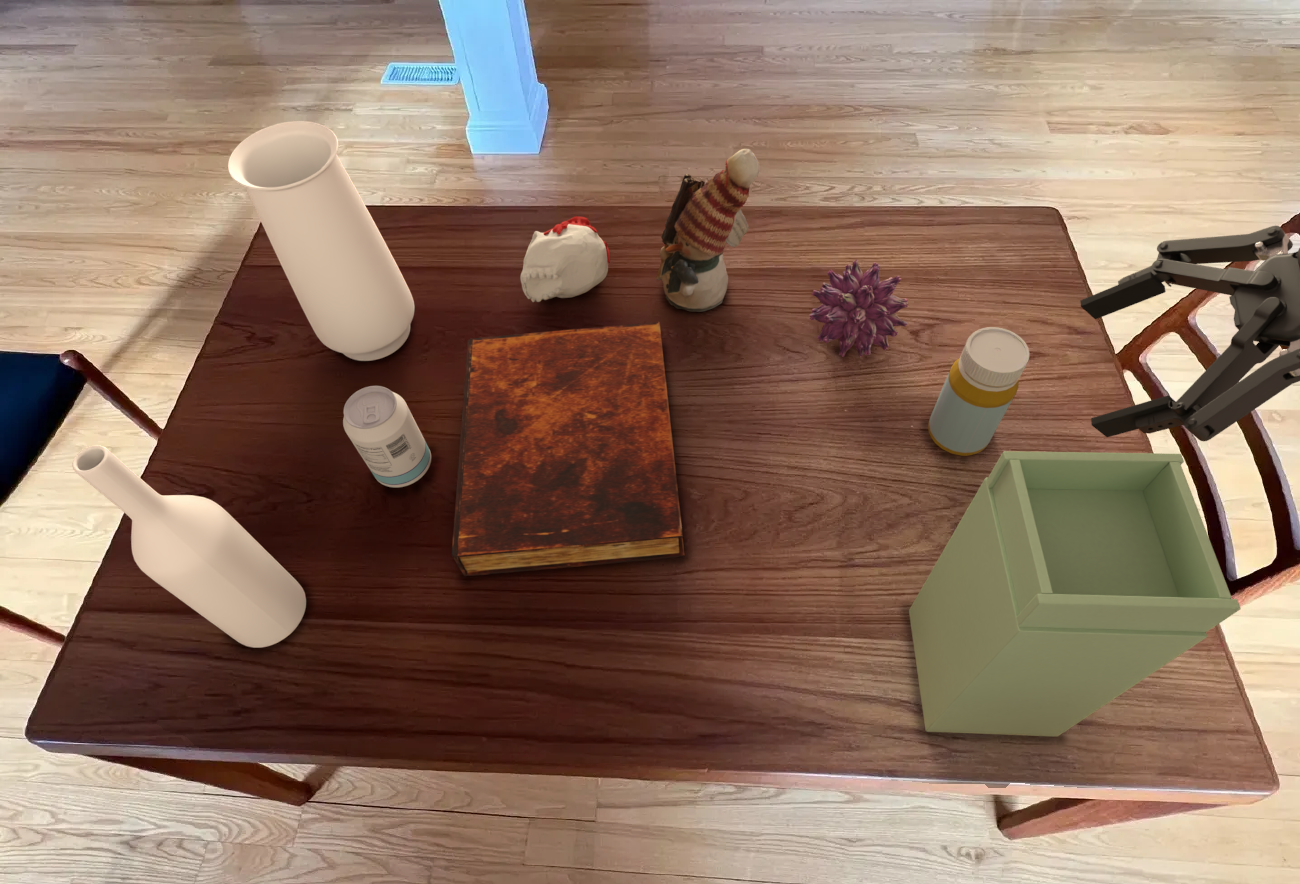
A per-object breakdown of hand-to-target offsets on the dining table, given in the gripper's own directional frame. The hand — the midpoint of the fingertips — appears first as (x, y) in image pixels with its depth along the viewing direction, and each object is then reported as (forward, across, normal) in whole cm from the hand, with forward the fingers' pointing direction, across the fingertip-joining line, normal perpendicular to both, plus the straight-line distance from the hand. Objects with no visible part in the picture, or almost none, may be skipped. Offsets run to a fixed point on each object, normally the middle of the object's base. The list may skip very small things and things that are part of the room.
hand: (1092, 366), depth 76 cm
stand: (+15, -27, -4) cm, 31 cm away
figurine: (+41, +21, +18) cm, 50 cm away
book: (+47, -8, +29) cm, 55 cm away
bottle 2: (+18, +1, -5) cm, 19 cm away
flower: (+28, +14, +4) cm, 31 cm away
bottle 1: (+62, -33, +51) cm, 87 cm away
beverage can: (+59, -13, +44) cm, 74 cm away
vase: (+68, +6, +51) cm, 85 cm away
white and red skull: (+53, +20, +32) cm, 65 cm away
